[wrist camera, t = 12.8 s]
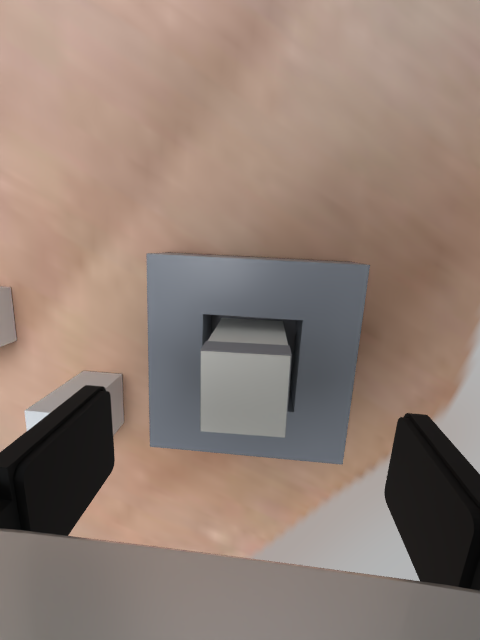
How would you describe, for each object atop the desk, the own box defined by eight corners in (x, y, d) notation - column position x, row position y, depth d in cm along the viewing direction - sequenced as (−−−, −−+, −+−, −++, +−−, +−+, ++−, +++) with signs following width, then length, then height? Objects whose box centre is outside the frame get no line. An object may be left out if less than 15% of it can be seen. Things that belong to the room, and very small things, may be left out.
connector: (283, 320, 21) (291, 355, 14) (279, 378, 22) (285, 438, 15) (221, 317, 21) (199, 350, 14) (220, 375, 22) (199, 432, 15)
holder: (350, 261, 21) (369, 265, 17) (329, 428, 23) (342, 464, 20) (168, 252, 22) (146, 253, 18) (168, 414, 24) (150, 446, 20)
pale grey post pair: (119, 293, 22) (67, 310, 17) (123, 422, 25) (80, 476, 19) (-29, 284, 23) (-128, 297, 17) (-11, 410, 25) (-94, 459, 20)
